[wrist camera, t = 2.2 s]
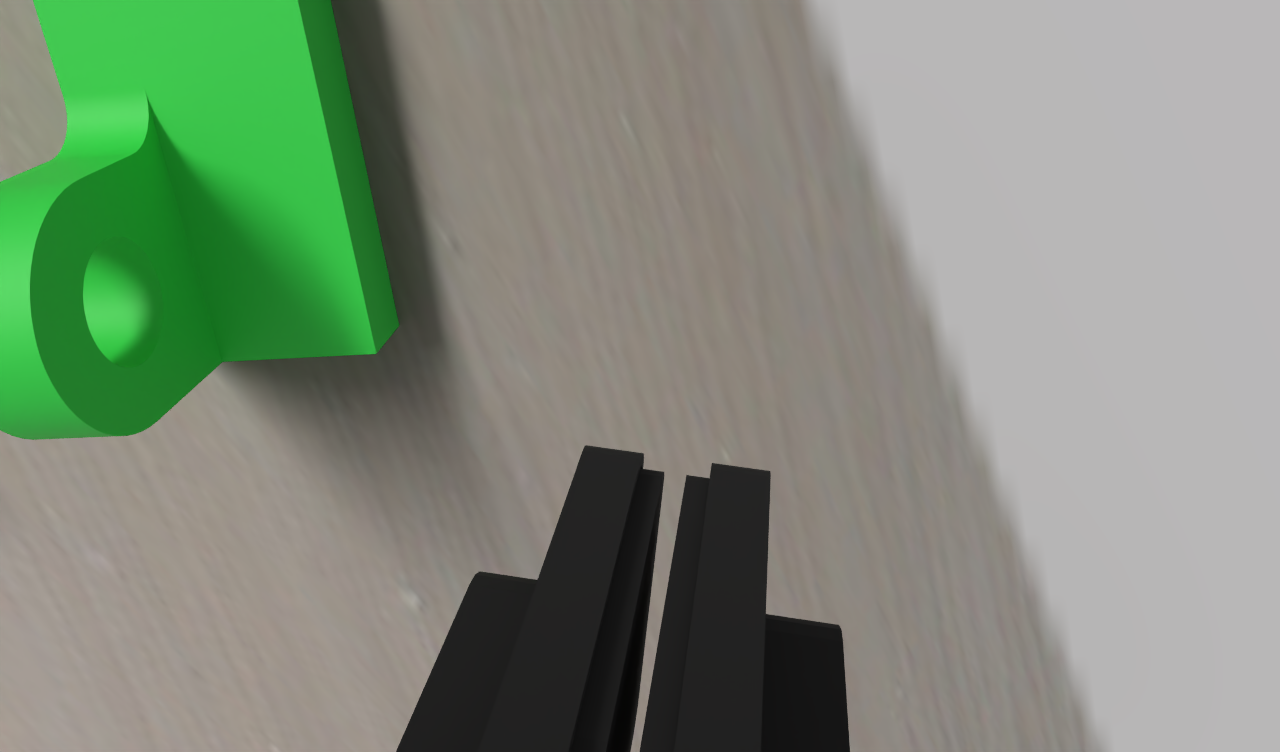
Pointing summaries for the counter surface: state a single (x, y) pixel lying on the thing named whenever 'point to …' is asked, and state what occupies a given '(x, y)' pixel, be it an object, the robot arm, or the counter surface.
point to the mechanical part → (184, 212)
